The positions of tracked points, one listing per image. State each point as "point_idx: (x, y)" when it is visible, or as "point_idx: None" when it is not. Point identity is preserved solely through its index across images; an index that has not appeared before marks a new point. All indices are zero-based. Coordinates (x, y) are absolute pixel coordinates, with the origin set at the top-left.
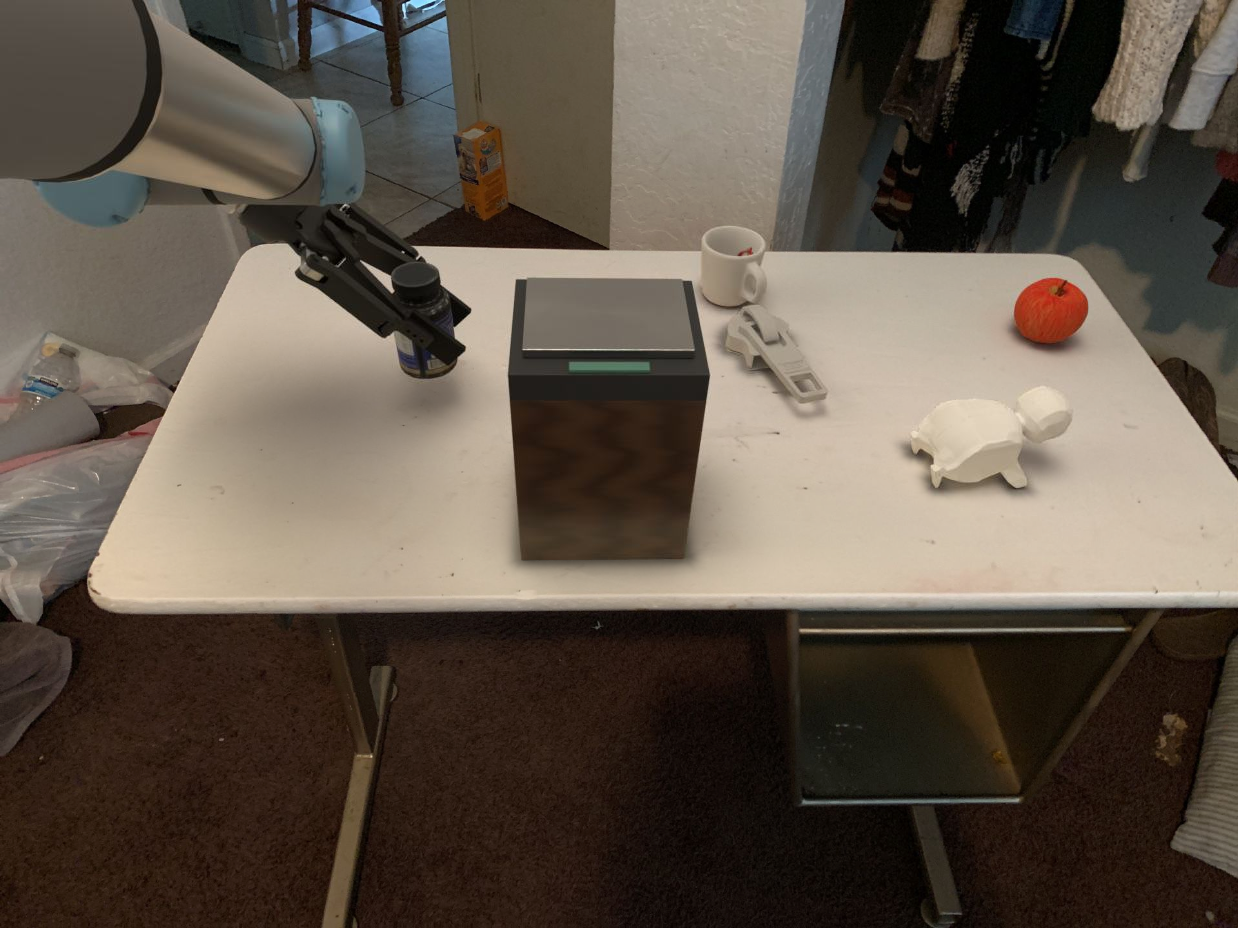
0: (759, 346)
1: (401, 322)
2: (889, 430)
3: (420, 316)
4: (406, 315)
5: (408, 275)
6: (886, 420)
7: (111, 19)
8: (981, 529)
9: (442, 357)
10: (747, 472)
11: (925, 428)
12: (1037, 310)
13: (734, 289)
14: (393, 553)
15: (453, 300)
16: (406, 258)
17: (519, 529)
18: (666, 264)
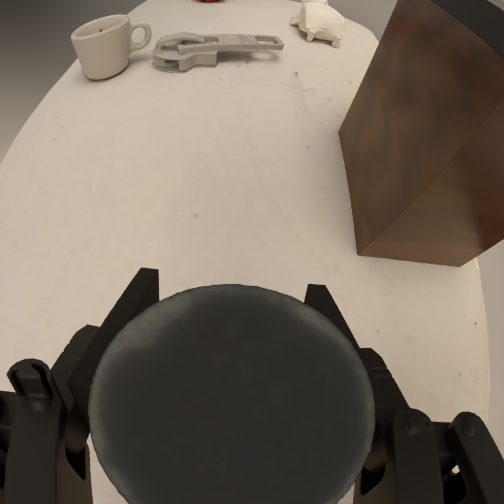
0: (214, 45)
1: (466, 412)
2: (289, 40)
3: (370, 382)
4: (422, 416)
5: (249, 467)
6: (280, 38)
7: None
8: (360, 49)
9: None
10: (341, 98)
11: (314, 25)
12: None
13: (127, 49)
14: (463, 380)
15: (141, 301)
16: (30, 445)
17: (485, 250)
18: (42, 106)
